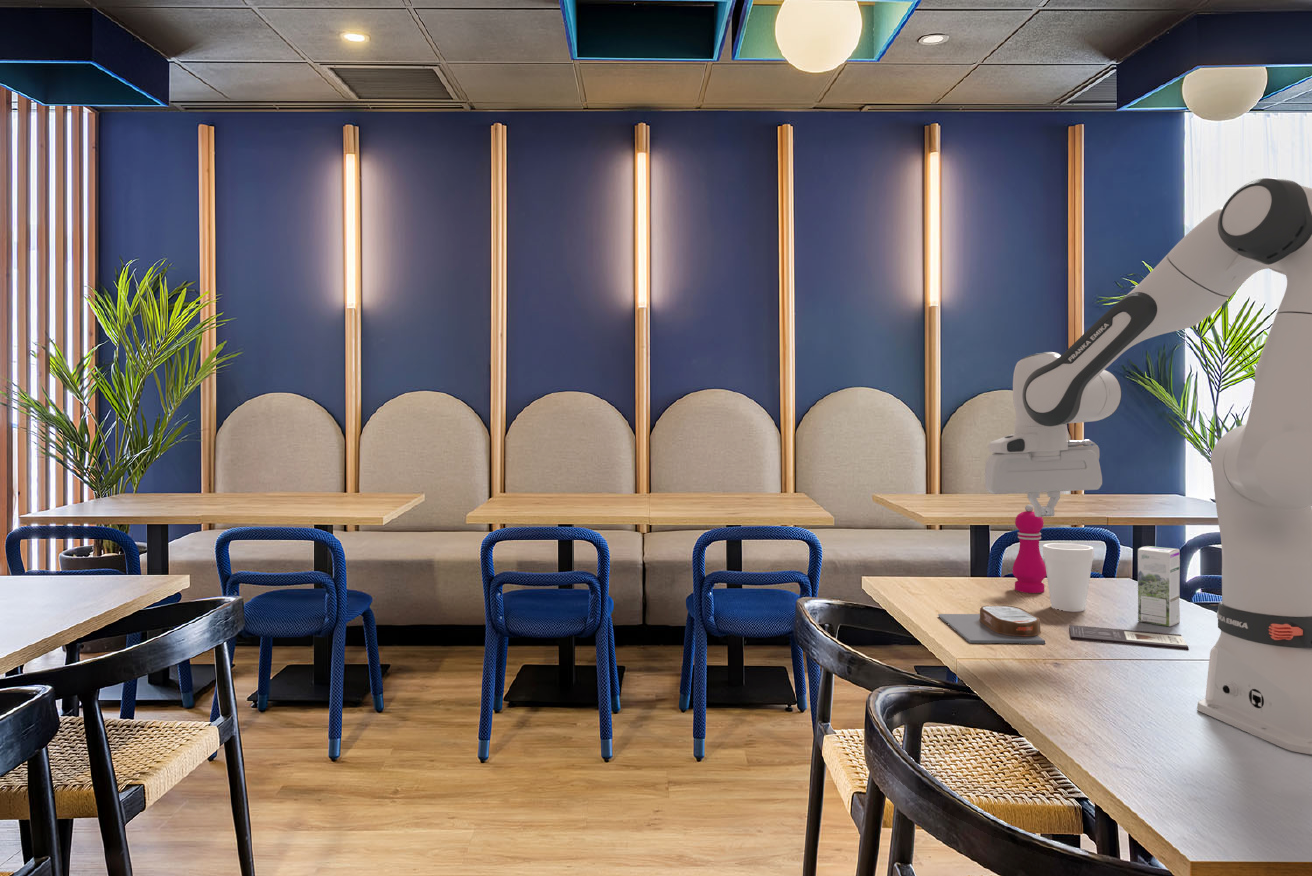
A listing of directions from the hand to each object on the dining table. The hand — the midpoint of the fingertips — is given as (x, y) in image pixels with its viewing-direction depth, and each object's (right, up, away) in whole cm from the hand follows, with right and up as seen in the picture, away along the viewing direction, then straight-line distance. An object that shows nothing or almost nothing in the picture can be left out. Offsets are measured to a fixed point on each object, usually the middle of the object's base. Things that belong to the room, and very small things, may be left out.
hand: (1044, 516), depth 152 cm
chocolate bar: (+13, -22, -3) cm, 26 cm away
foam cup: (+15, -22, +21) cm, 33 cm away
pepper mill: (+15, -21, +39) cm, 47 cm away
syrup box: (+26, -22, +8) cm, 35 cm away
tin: (-1, -20, +4) cm, 20 cm away
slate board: (-9, -22, +4) cm, 24 cm away
